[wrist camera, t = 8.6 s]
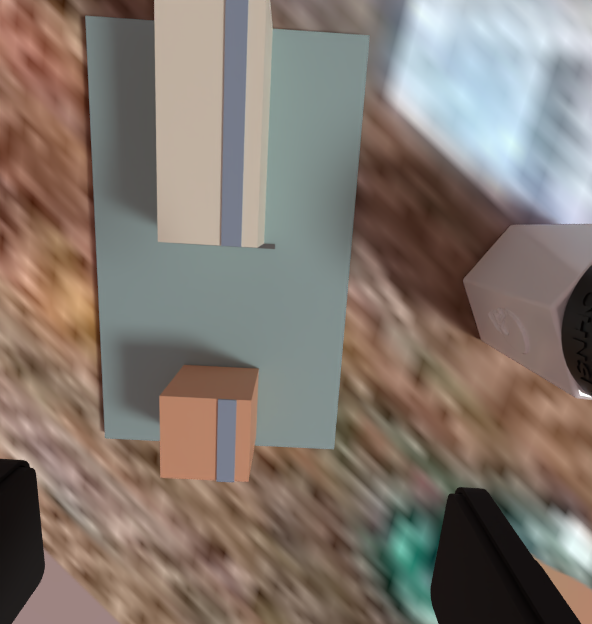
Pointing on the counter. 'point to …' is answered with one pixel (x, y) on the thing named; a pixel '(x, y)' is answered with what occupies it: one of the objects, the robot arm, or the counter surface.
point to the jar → (539, 301)
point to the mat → (228, 259)
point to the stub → (209, 423)
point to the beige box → (212, 120)
